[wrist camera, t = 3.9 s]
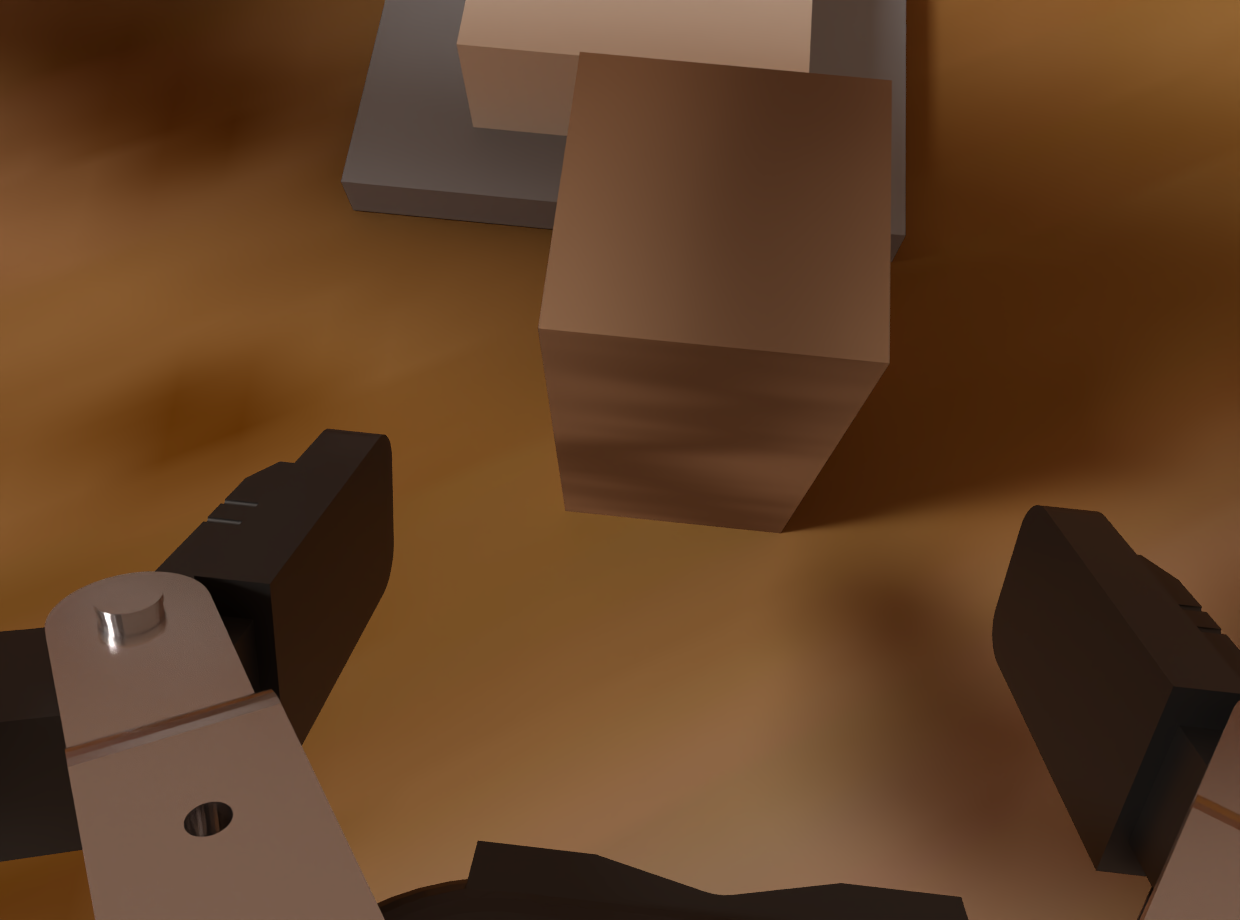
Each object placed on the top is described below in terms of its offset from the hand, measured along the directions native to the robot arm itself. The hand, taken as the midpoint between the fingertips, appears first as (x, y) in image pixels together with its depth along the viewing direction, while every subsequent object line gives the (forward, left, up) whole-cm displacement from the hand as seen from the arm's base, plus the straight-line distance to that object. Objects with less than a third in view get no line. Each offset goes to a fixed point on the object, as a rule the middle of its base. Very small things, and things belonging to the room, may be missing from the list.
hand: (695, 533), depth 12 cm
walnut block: (0, +5, -9) cm, 11 cm away
